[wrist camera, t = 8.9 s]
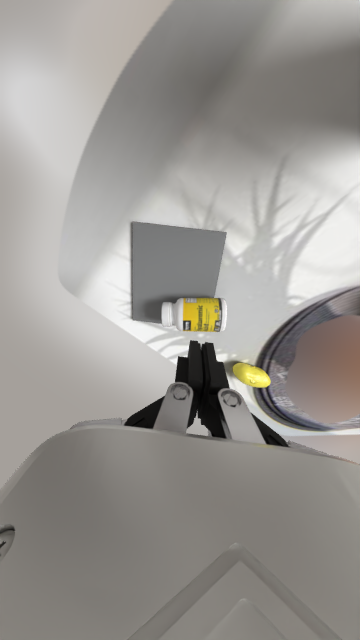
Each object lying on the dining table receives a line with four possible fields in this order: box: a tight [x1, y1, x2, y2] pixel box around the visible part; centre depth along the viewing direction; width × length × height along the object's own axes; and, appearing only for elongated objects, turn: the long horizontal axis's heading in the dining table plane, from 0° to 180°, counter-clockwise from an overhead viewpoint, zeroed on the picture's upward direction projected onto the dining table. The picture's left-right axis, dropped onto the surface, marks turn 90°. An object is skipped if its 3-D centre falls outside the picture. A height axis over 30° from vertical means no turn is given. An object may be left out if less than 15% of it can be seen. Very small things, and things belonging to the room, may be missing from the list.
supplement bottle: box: [162, 298, 227, 332], centre depth 27 cm, size 5×5×10 cm
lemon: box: [233, 363, 270, 387], centre depth 33 cm, size 4×8×4 cm, turn 62°
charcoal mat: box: [133, 222, 227, 324], centre depth 28 cm, size 14×16×1 cm
